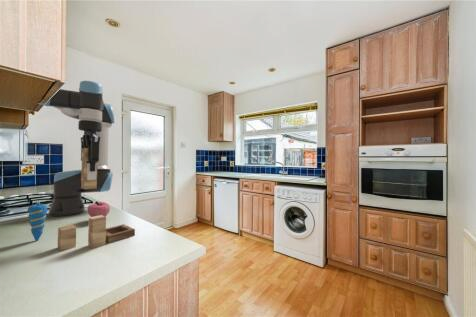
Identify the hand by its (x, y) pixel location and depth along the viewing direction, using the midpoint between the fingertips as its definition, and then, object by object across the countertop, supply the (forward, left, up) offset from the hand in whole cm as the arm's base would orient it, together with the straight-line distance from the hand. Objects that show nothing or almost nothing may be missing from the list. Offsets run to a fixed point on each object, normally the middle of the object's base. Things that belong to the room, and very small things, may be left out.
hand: (89, 179), depth 80 cm
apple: (-17, +10, -23) cm, 30 cm away
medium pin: (+13, -1, -23) cm, 26 cm away
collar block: (+10, +7, -23) cm, 26 cm away
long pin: (0, 0, -4) cm, 4 cm away
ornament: (-8, -13, -23) cm, 28 cm away
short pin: (+7, -8, -23) cm, 25 cm away
